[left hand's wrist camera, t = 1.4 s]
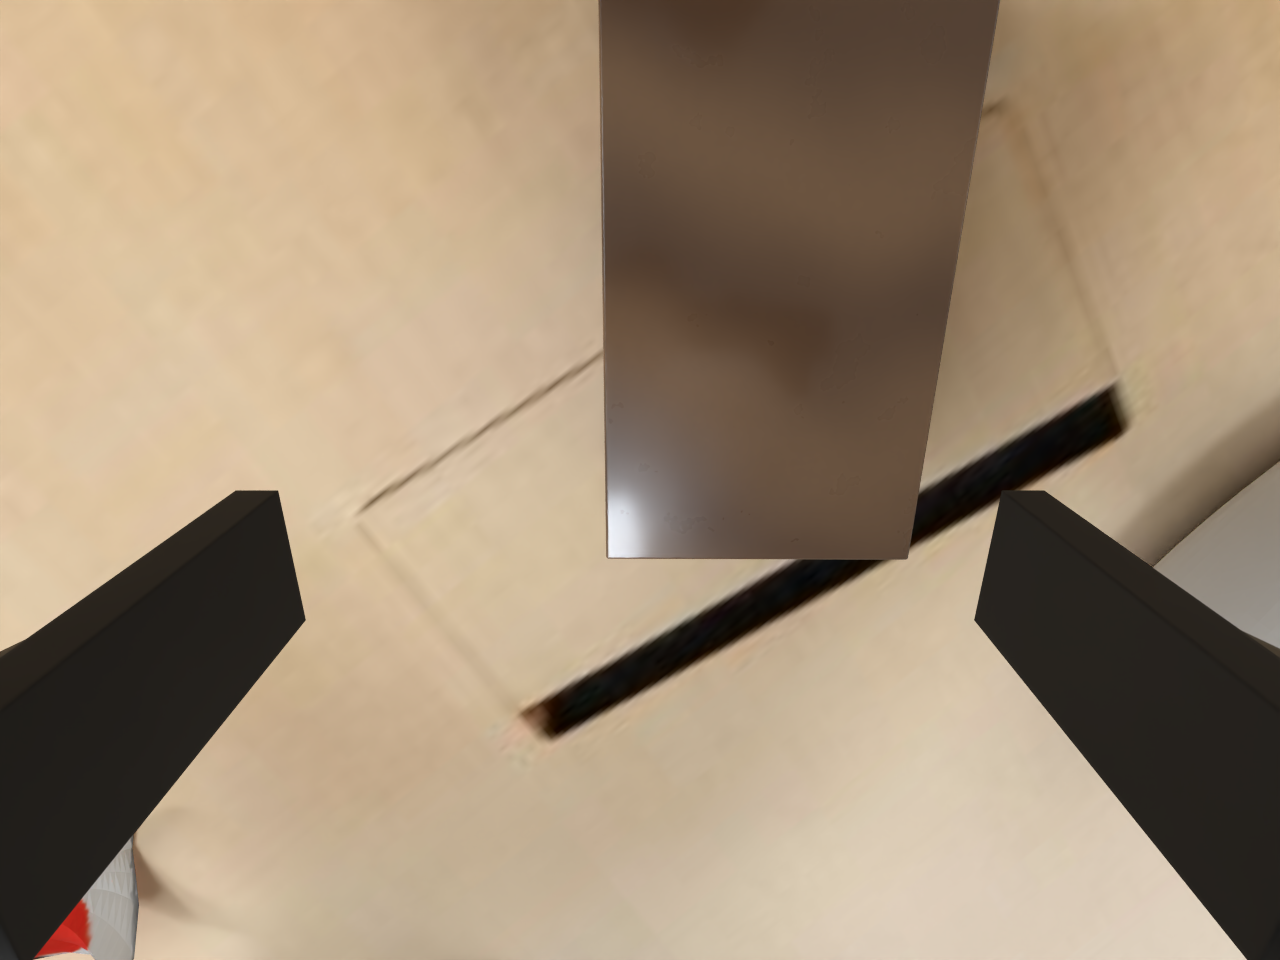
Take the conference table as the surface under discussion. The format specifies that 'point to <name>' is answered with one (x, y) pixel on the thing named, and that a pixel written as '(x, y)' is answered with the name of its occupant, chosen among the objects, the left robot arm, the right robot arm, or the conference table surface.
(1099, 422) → the conference table surface
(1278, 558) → the projector
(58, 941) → the fish
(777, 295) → the cabinet
